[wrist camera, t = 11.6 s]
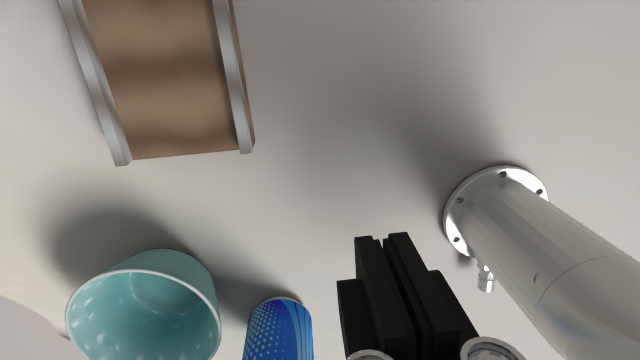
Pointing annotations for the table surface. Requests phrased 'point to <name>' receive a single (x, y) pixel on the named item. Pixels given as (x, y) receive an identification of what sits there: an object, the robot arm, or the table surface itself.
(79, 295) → the bowl
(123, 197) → the table surface
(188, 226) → the table surface
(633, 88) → the table surface
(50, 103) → the table surface
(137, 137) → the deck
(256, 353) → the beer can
